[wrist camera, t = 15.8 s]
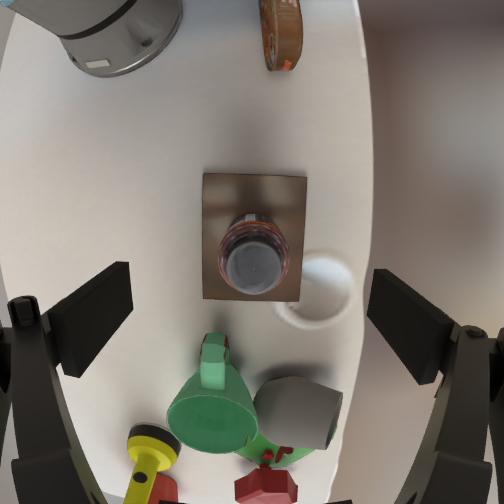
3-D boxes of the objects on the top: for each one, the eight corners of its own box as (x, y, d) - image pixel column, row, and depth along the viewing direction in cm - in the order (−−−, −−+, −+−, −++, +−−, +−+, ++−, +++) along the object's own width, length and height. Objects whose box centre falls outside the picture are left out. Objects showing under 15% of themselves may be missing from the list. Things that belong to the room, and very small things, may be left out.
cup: (241, 392, 30) (330, 414, 26) (275, 358, 38) (348, 371, 34) (242, 449, 32) (317, 471, 27) (272, 411, 40) (337, 426, 35)
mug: (254, 403, 38) (255, 456, 28) (185, 398, 38) (171, 449, 28) (261, 310, 35) (265, 357, 25) (179, 305, 35) (155, 348, 25)
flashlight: (156, 578, 17) (150, 567, 15) (92, 558, 17) (74, 541, 15) (180, 459, 42) (182, 430, 40) (132, 447, 41) (128, 416, 39)
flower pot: (193, 494, 45) (188, 530, 35) (147, 492, 45) (138, 525, 36) (172, 468, 42) (163, 508, 33) (123, 466, 43) (110, 501, 34)
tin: (256, -16, 25) (258, -56, 17) (281, -16, 25) (288, -56, 17) (266, 82, 29) (271, 51, 21) (295, 81, 29) (308, 52, 21)
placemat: (203, 173, 31) (202, 173, 31) (306, 177, 31) (307, 177, 31) (203, 297, 34) (202, 299, 34) (298, 300, 35) (298, 302, 34)
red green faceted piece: (201, 453, 41) (195, 495, 32) (292, 395, 38) (301, 442, 29) (264, 483, 44) (266, 520, 35) (351, 434, 40) (365, 473, 32)
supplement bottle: (291, 248, 33) (311, 282, 22) (245, 276, 33) (242, 323, 22) (261, 201, 31) (267, 212, 20) (214, 231, 32) (195, 258, 21)
